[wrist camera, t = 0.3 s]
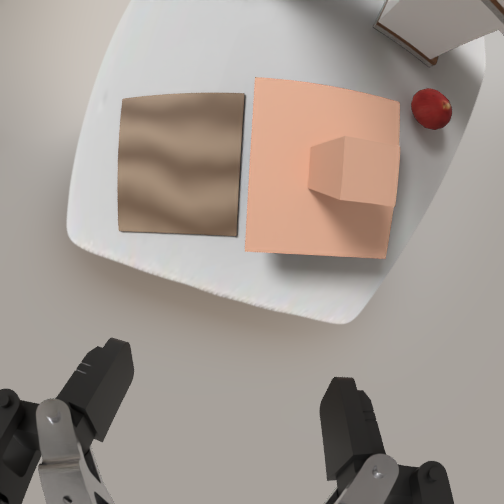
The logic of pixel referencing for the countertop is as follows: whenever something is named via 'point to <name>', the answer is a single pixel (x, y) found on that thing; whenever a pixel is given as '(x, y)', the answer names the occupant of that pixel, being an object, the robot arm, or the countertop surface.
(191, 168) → the board
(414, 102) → the pomegranate
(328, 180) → the lid
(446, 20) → the white tall block
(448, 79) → the countertop surface
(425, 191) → the countertop surface
